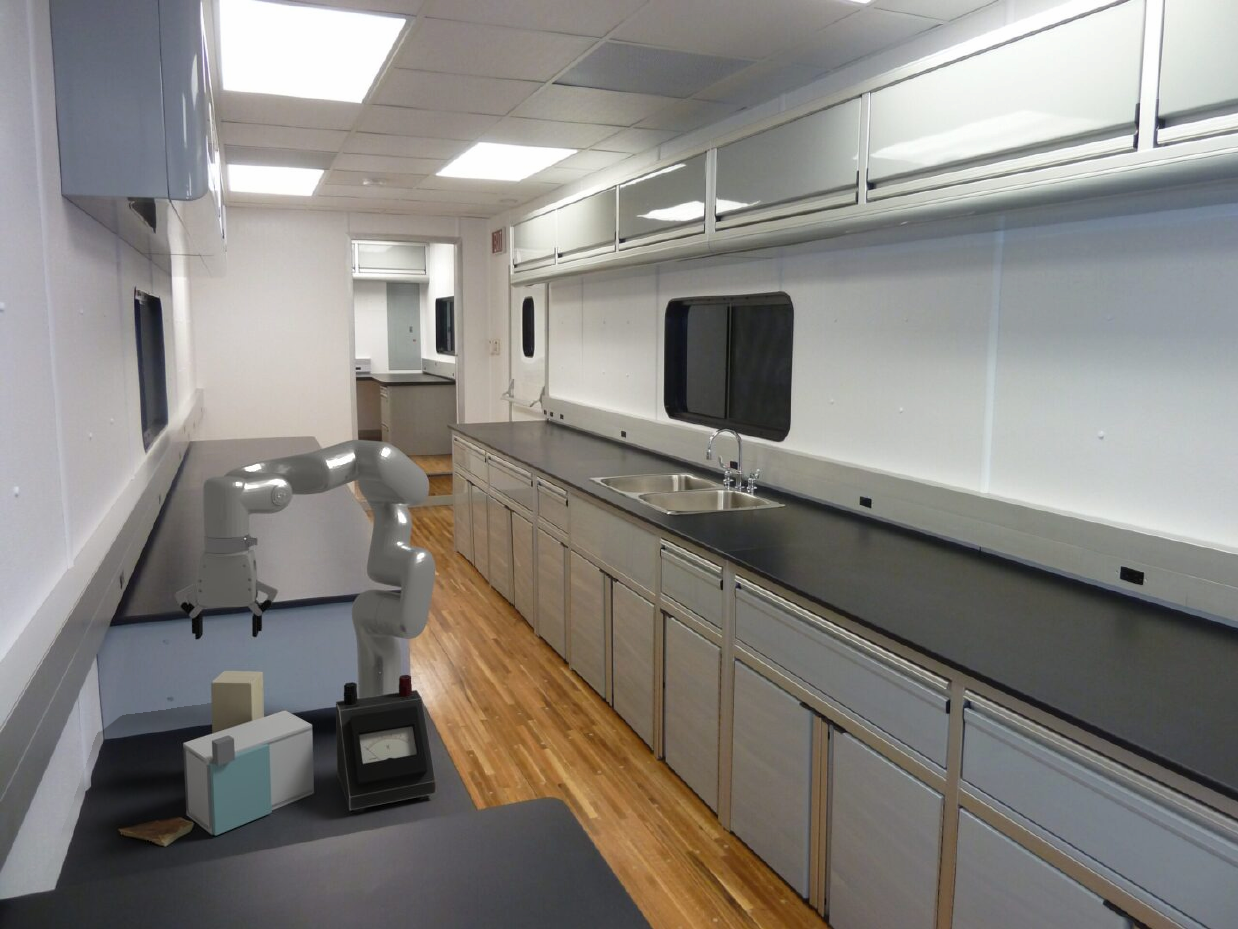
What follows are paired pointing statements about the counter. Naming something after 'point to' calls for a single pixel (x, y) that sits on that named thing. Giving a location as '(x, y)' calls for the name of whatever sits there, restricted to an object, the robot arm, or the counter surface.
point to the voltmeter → (383, 747)
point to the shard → (159, 830)
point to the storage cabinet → (277, 730)
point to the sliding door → (238, 784)
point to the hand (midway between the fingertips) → (227, 636)
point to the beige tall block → (236, 699)
